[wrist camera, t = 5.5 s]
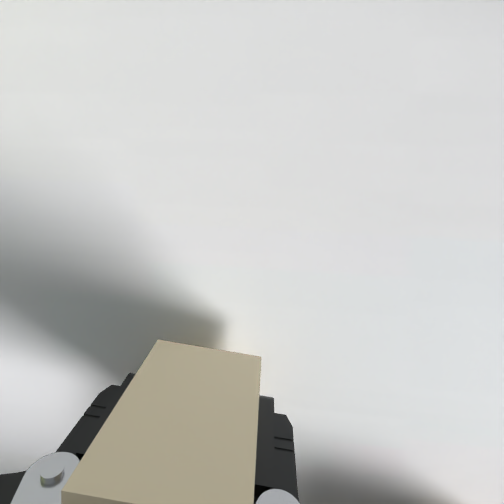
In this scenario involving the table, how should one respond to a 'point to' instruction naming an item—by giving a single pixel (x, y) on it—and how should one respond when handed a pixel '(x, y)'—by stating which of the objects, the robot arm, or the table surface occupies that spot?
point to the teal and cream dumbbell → (177, 433)
